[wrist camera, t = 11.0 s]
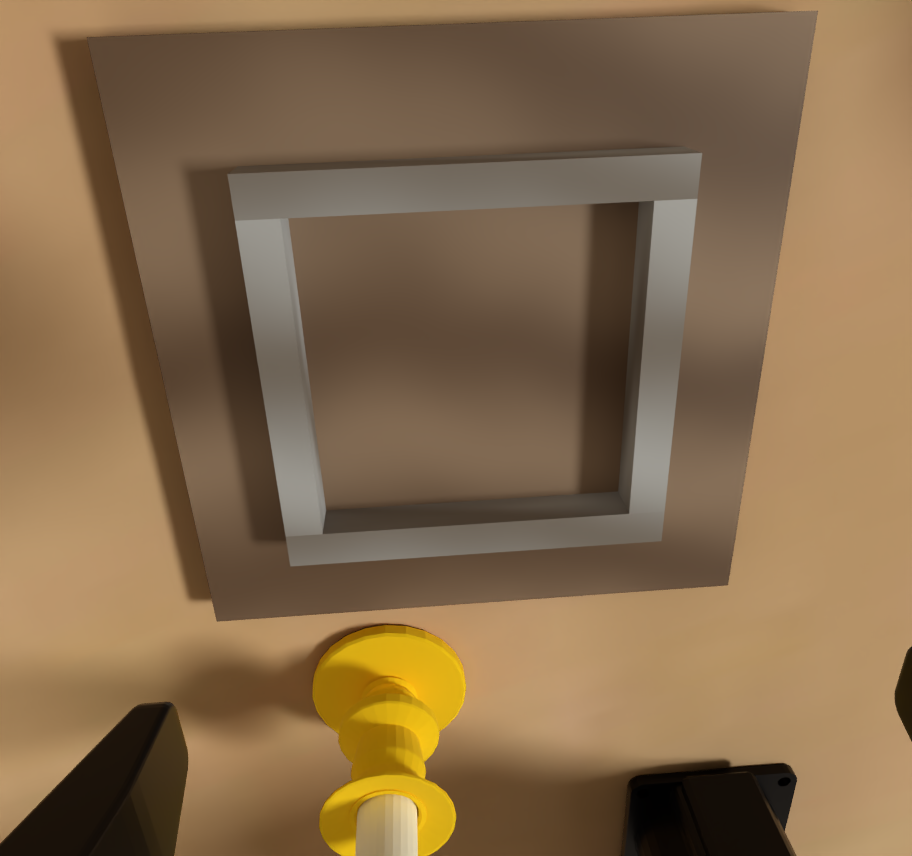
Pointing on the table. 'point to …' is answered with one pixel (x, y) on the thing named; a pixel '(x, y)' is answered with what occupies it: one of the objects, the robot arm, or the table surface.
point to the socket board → (459, 296)
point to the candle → (388, 739)
